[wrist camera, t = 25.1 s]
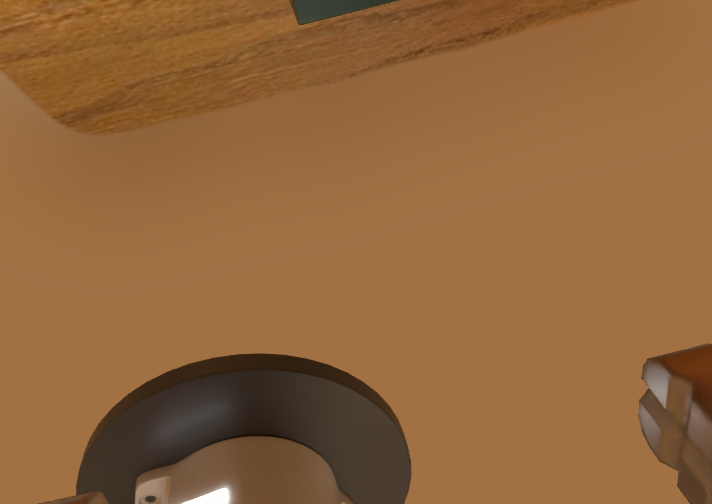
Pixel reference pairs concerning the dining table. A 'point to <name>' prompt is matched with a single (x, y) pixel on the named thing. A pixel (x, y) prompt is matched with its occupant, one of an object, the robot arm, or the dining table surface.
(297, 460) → the robot arm
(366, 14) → the dining table surface
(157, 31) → the dining table surface
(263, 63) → the dining table surface
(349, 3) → the stand
